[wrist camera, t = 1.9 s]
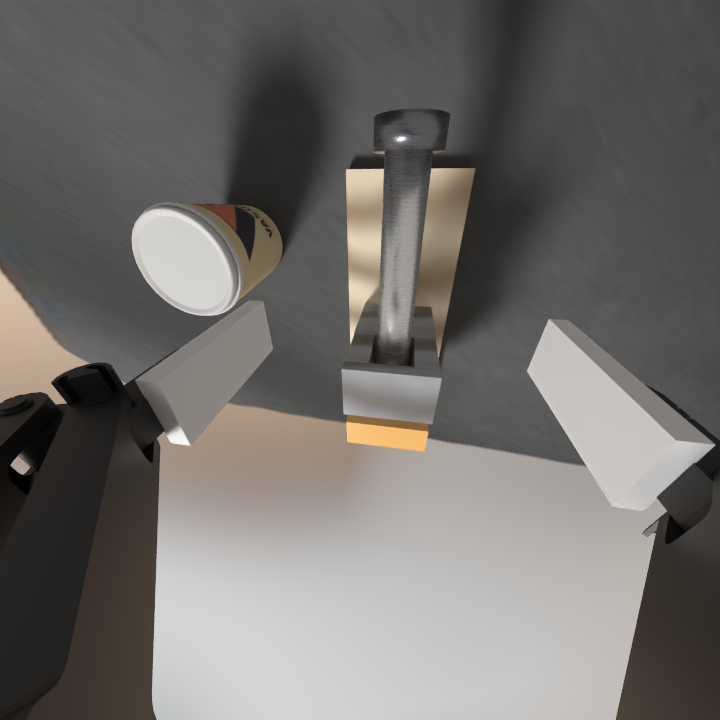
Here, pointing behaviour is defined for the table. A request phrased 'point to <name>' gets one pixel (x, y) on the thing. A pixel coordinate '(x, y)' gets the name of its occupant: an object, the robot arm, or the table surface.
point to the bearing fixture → (435, 281)
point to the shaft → (403, 219)
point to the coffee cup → (205, 253)
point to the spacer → (387, 432)
